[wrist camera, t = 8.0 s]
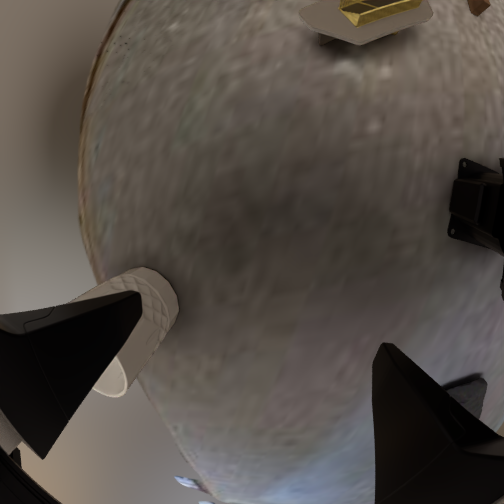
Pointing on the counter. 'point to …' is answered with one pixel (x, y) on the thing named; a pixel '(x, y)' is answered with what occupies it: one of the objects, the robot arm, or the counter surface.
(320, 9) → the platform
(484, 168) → the robot arm
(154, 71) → the counter surface
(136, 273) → the white cup
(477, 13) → the frame
